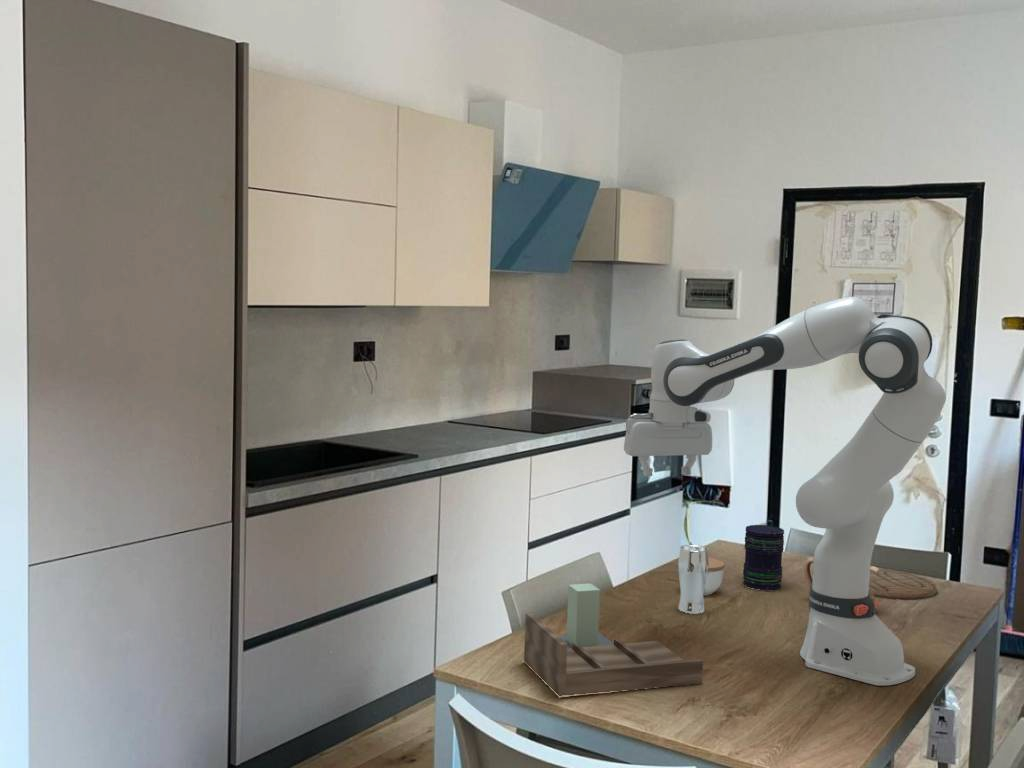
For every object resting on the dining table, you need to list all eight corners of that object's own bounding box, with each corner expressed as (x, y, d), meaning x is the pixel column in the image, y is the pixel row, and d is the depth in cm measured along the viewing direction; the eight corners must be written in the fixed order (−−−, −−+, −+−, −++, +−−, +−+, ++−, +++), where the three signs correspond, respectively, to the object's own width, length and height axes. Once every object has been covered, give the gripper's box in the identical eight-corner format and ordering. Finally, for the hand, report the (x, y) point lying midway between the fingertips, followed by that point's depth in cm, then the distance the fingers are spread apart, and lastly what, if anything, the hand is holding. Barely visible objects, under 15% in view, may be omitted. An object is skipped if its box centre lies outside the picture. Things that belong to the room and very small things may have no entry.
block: (566, 640, 213) (568, 584, 212) (588, 638, 215) (590, 583, 214) (575, 648, 208) (577, 591, 207) (597, 646, 210) (599, 589, 209)
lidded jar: (692, 583, 262) (694, 548, 261) (730, 592, 255) (732, 555, 254) (671, 591, 253) (673, 555, 253) (709, 601, 247) (711, 563, 246)
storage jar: (734, 582, 264) (737, 526, 263) (764, 579, 268) (767, 523, 267) (758, 592, 255) (762, 534, 254) (789, 589, 259) (792, 531, 258)
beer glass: (697, 616, 233) (700, 553, 232) (671, 610, 238) (673, 548, 236) (711, 610, 239) (714, 547, 238) (685, 604, 243) (687, 542, 242)
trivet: (872, 603, 250) (873, 596, 250) (816, 576, 274) (816, 569, 274) (958, 598, 257) (958, 591, 256) (895, 572, 281) (896, 565, 280)
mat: (542, 638, 215) (542, 636, 215) (598, 633, 219) (598, 631, 219) (563, 657, 204) (563, 655, 204) (622, 652, 208) (622, 650, 208)
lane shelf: (523, 662, 200) (525, 613, 200) (656, 650, 210) (658, 603, 209) (559, 698, 183) (561, 644, 182) (701, 683, 192) (704, 632, 191)
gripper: (632, 415, 216) (630, 479, 217) (717, 414, 222) (714, 476, 223) (620, 411, 222) (617, 474, 223) (703, 411, 228) (700, 471, 229)
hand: (666, 475), depth 223 cm, fingers open, 8 cm apart
